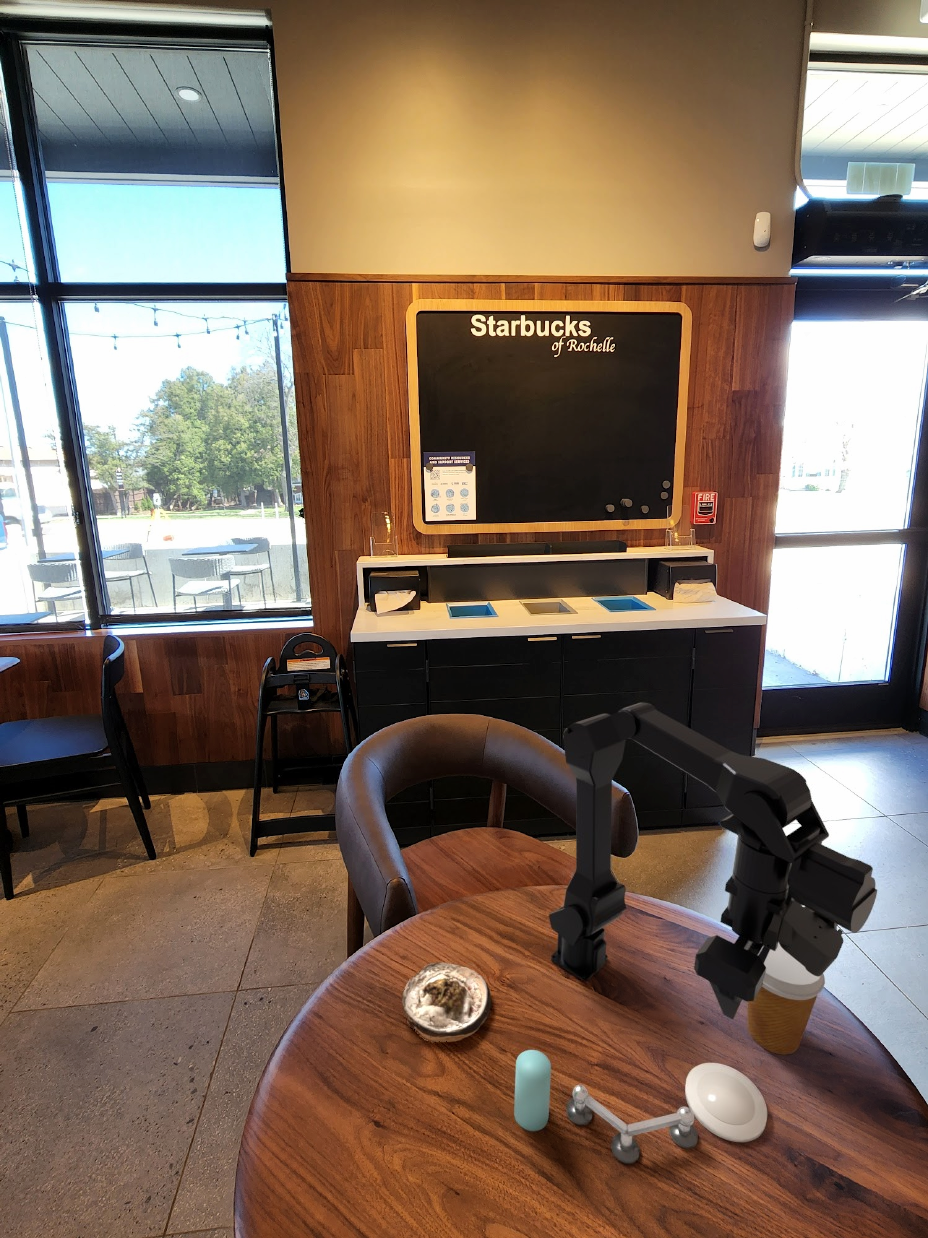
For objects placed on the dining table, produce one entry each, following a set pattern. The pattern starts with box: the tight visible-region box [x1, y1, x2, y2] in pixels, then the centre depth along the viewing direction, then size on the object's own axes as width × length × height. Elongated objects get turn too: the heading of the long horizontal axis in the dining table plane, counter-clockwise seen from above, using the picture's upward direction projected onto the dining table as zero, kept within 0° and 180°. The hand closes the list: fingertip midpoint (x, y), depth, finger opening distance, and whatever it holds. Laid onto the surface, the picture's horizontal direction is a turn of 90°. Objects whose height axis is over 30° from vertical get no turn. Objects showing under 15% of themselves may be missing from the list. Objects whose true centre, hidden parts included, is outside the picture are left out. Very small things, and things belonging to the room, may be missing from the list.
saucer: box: [684, 1062, 768, 1143], centre depth 75 cm, size 9×9×1 cm
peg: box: [513, 1049, 552, 1132], centre depth 73 cm, size 4×4×7 cm
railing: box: [566, 1084, 698, 1165], centre depth 72 cm, size 13×9×4 cm
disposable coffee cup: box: [746, 942, 826, 1055], centre depth 83 cm, size 10×10×12 cm
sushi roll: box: [401, 962, 492, 1043], centre depth 88 cm, size 15×15×4 cm
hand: (742, 991), depth 74 cm, fingers open, 9 cm apart
